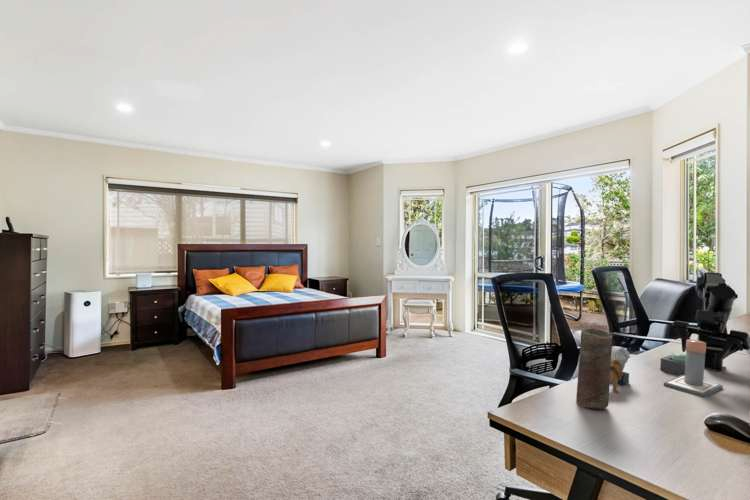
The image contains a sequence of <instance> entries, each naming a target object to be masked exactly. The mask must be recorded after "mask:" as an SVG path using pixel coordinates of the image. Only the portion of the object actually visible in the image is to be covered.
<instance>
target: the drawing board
mask: <svg viewBox="0 0 750 500" xmlns="http://www.w3.org/2000/svg"><path fill="white" fill-rule="evenodd" d="M684 377H685V375H678V376H676V377H673V378H672V379H669V380H667V381H664V382H663V386H664V387H667V388H671V389H675V390H678V391H681V392H685V393H689V394H691V395H694V396H699V397H701V398H707V397H708V396H710V395H713V394H715V393H716V392H718V391H720V390H722V389H723V387H724V386H723V384H719V383H715V382H712V381H708V380H705V379H703V386H693V385H690V384H687V383H685V382H684Z"/></svg>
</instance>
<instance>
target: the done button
mask: <svg viewBox="0 0 750 500" xmlns="http://www.w3.org/2000/svg"><path fill="white" fill-rule="evenodd" d="M671 355H672V359H671V360H674V361H678V362H682V363H685V362H686V353H685V354H684V353H679V352H671Z"/></svg>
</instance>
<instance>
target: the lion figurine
mask: <svg viewBox="0 0 750 500" xmlns="http://www.w3.org/2000/svg"><path fill="white" fill-rule="evenodd" d="M623 372H624V369H623V365H622V364H621V362H620V361H619V360H617V359H611V368H610V383H611V382H613V383H612V386H613V387H612V391H613V393H616V394H618V393H619V391H618V390H617V388H618V386H619V385H618V381H619V380H620V379H621V377H622V373H623Z"/></svg>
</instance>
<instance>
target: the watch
mask: <svg viewBox="0 0 750 500" xmlns="http://www.w3.org/2000/svg"><path fill="white" fill-rule="evenodd" d="M630 356H631V355H630V352H629V351H628V350H627V349H626V348H624V347H623V346H618V345H617V346H616V345H612V351H611V359H617V360H619V361H620V362H621V364H622V365H623V370H625V367H626V366H625V365H626V364H627V363H628V361H629V358H630ZM611 383H612V384H613V382H610V384H611ZM629 383H630V372H627V371H626V372H625V371H623V373H622V377H621V379H620V380H619V381H618V385H617V386H622V387H624V386H626V385H627V384H629Z"/></svg>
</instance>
